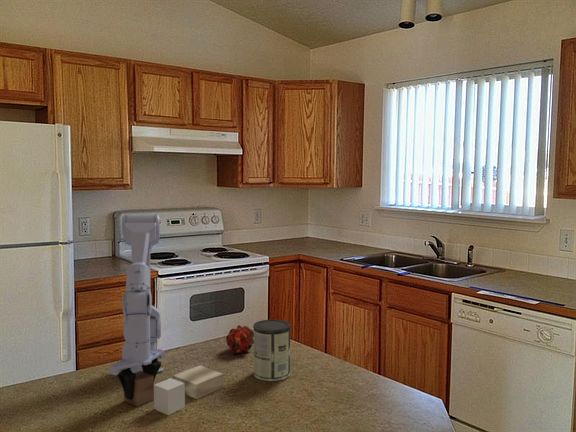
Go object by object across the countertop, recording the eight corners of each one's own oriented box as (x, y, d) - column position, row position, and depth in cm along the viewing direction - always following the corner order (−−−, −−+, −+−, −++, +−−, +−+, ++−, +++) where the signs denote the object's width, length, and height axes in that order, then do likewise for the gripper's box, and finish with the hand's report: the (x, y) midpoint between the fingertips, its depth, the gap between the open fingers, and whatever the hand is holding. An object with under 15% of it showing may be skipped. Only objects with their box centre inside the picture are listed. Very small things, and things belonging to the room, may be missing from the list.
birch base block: (173, 390, 133) (173, 375, 133) (200, 379, 140) (200, 365, 140) (196, 400, 128) (196, 384, 127) (223, 388, 134) (223, 373, 134)
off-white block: (154, 409, 122) (154, 384, 121) (171, 401, 126) (170, 378, 125) (168, 415, 119) (168, 390, 118) (184, 407, 123) (184, 383, 122)
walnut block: (124, 400, 126) (123, 376, 125) (141, 393, 130) (140, 370, 129) (136, 406, 123) (136, 382, 122) (153, 399, 127) (153, 375, 126)
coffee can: (264, 364, 150) (265, 317, 149) (296, 371, 146) (297, 322, 144) (246, 377, 141) (246, 326, 140) (279, 384, 137) (279, 332, 135)
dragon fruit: (248, 349, 168) (237, 367, 157) (228, 333, 168) (215, 350, 157) (263, 330, 165) (252, 348, 154) (241, 314, 166) (229, 331, 154)
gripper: (122, 351, 117) (123, 409, 118) (172, 335, 128) (172, 388, 130) (104, 345, 121) (105, 401, 122) (154, 330, 133) (154, 381, 134)
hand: (138, 394), depth 126 cm, fingers closed on walnut block, 5 cm apart
